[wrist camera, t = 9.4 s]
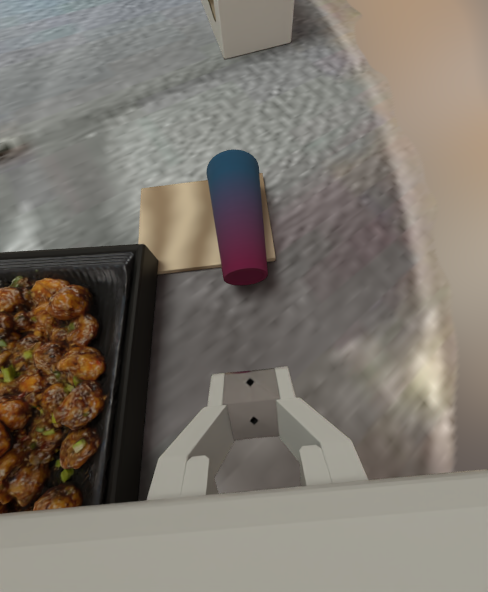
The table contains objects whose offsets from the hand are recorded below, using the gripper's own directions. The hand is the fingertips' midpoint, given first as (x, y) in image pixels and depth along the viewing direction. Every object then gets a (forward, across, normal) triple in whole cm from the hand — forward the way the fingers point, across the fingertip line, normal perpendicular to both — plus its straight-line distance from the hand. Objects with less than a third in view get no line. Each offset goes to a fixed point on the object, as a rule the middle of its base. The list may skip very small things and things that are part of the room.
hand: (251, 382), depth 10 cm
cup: (+19, 0, +3) cm, 19 cm away
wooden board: (+29, +5, -2) cm, 30 cm away
